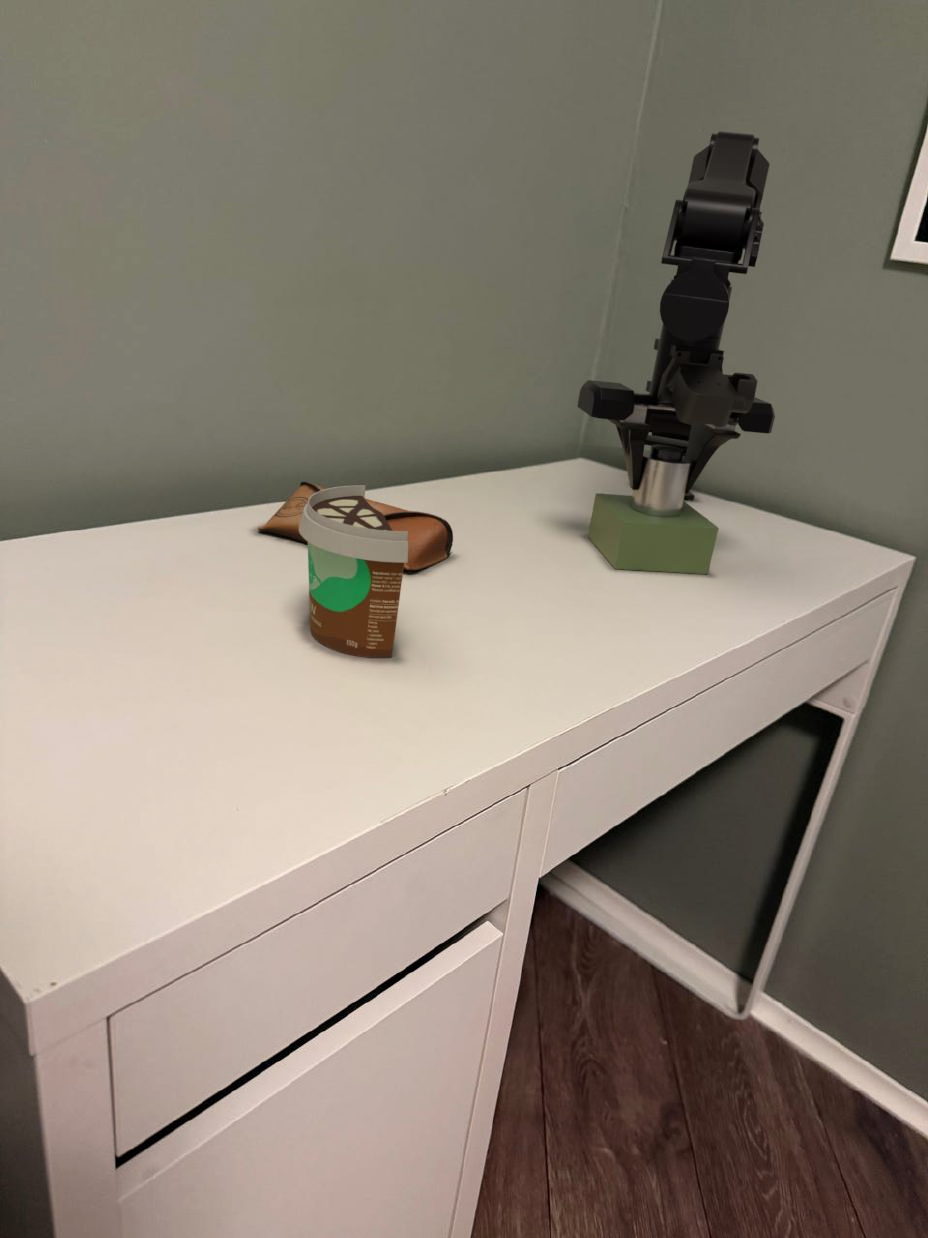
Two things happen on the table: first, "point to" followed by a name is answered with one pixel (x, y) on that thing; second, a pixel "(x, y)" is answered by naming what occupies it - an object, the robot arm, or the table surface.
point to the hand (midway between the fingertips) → (658, 490)
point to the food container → (352, 572)
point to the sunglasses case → (424, 530)
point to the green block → (651, 537)
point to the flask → (662, 481)
